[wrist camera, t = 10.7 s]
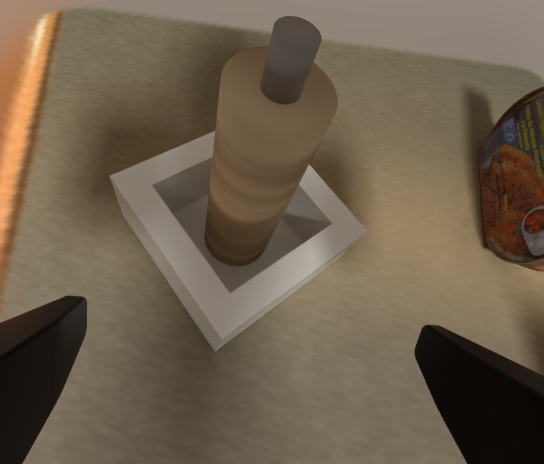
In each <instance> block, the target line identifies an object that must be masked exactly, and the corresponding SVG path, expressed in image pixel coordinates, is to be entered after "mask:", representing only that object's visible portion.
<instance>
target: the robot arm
mask: <svg viewBox="0 0 544 464" xmlns="http://www.w3.org/2000/svg"><path fill="white" fill-rule="evenodd" d="M86 329H87V300H86V298H85V297H80V296H65V297H63V298H60V299H58V300H55V301H53V302H50V303H48V304H45V305H43V306H41V307H38V308H36V309H33V310H31V311H28V312H26V313H23V314H21V315H19V316H16V317H14V318H11V319H9V320H6V321H4V322H1V323H0V464H22V463H23V462H24V460H25V458H26V456H27V454H28V453H29V451H30V449H31V447H32V445H33V444H34V442H35V440H36V438H37V437H38V435H39V433H40V431H41V429H42V428H43V426H44V424H45V422H46V420H47V419H48V417H49V415H50V413H51V411H52V410H53V408H54V406H55V404H56V402H57V400H58V398H59V397H60V395H61V392H62V390H63V388H64V386H65V383H66V381H67V378H68V376H69V374H70V371H71V369H72V366H73V364H74V362H75V359H76V357H77V354H78V352H79V350H80V347H81V345H82V342H83V340H84V337H85V334H86ZM415 358H416V360H417V363H418V365H419V367H420V370H421V372H422V374H423V377H424V379H425V381H426V384H427V386H428V388H429V391H430V393H431V395H432V397H433V400H434V402H435V404H436V406H437V408H438V410H439V412H440V414H441V416H442V418H443V420H444V422H445V424H446V425H447V427H448V429H449V431H450V433H451V435H452V436H453V438H454V440H455V442H456V444H457V446H458V448H459V449H460V451H461V453H462V455H463V457H464V459H465V460H466V462H467V464H544V376H543V375H541V374H539V373H536V372H534V371H532V370H530V369H528V368H526V367H524V366H522V365H520V364H518V363H516V362H514V361H512V360H509V359H507V358H505V357H503V356H501V355H499V354H497V353H495V352H493V351H491V350H489V349H487V348H485V347H483V346H480V345H478V344H476V343H474V342H472V341H470V340H468V339H466V338H464V337H462V336H460V335H458V334H456V333H453V332H451V331H449V330H447V329H445V328H443V327H441V326H438V325H425V326H424V327H423V328H422V330H421V332H420V335H419V338H418V341H417V344H416V347H415Z"/></svg>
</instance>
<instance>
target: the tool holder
mask: <svg viewBox="0 0 544 464" xmlns="http://www.w3.org/2000/svg"><path fill="white" fill-rule="evenodd" d="M214 138H215V131H214V132H211V133H209V134H207V135H204V136H202V137H199V138H197V139H195V140H192V141H190V142H188V143H185V144H183V145H181V146H178V147H176V148H174V149H171V150H169V151H167V152H164V153H162V154H160V155H157V156H155V157H153V158H150V159H148V160H146V161H143V162H141V163H139V164H136V165H134V166H132V167H129V168H127V169H125V170H122V171H120V172H118V173H115V174H113V175H110V179H111V182H112V185H113V188H114V191H115V194H116V197H117V199H118V202H119V205H120V208H121V211H122V214H123V217H124V219H125V220H126V222H127V223H128V225H129V226H130V228H131V229H132V231H133V232H134V233H135V235H136V236H137V238H138V239H139V241H140V242H141V244H142V245H143V247H144V248H145V250H146V251H147V253H148V254H149V256H150V257H151V259H152V260H153V262H154V263H155V265H156V266H157V268H158V269H159V270H160V272H161V273H162V275H163V276H164V278H165V279H166V281H167V282H168V284H169V285H170V287H171V288H172V290H173V291H174V293H175V294H176V296H177V297H178V299H179V300H180V302H181V303H182V305H183V306H184V307H185V309H186V310H187V312H188V313H189V315H190V316H191V318H192V319H193V321H194V322H195V324H196V325H197V327H198V328H199V330H200V331H201V333H202V334H203V336H204V337H205V339H206V340H207V341H208V343H209V344H210V346H211V347H212V349H213V350H214V352H216V351H217V350H218V349H220V348H221V347H222V346H224V345H225V344H226V343H228V342H229V341H230V340H232V339H233V338H234V337H236V336H237V335H238V334H240V333H241V332H242V331H244V330H245V329H246V328H247V327H249V326H250V325H251V324H253V323H254V322H255V321H257V320H258V319H259V318H261V317H262V316H263V315H265V314H266V313H267V312H269V311H270V310H271V309H273V308H274V307H275V306H277V305H278V304H279V303H281V302H282V301H283V300H285V299H286V298H287V297H289V296H290V295H291V294H293V293H294V292H295V291H297V290H298V289H299V288H301V287H302V286H303V285H305V284H306V283H307V282H309V281H310V280H311V279H312V278H314V277H315V276H316V275H318V274H319V273H320V272H322V271H323V270H324V269H326V268H327V267H328V266H330V265H331V264H332V263H334V262H335V261H336V260H338V259H339V258H340V257H341V256H342V255H343V254H344V253H345V252H346V251H347V250H348V249H349V248H350V247H351V246H352V245H353V244H355V243H356V242H357V241H358V240H359V239H360V238H361V237H362V236H363V235H364V234H365V233H366V232H367V230H366V229H365V228H364V226H363V225H362V224H361V223H360V222H359V221H358V220H357V218H356V217H355V216H354V215H353V214H352V213H351V212H350V210H349V209H348V208H347V207H346V206H345V205H344V204H343V202H342V201H341V200H340V199H339V198H338V197H337V196H336V194H335V193H334V192H333V191H332V190H331V189H330V188H329V187H328V185H327V184H326V183H325V182H324V181H323V180H322V179H321V177H320V176H319V175H318V174H317V173H316V172H315V171H314V169H313V168H312V167H311V166H310V165H308V167H307V169H306V171H305V173H304V175H303V177H302V179H301V181H300V183H299V185H298V187H297V188H296V190H295V192H294V194H293V196H292V198H291V200H290V202H289V204H288V206H287V208H286V210H285V212H284V213H283V215H282V217H281V219H280V221H279V223H278V225H277V227H276V229H275V231H274V233H273V235H272V237H271V238H270V240H269V242H268V244H267V246H266V248H265V250H264V252H263V253H262V255H261V256H260V257H259V258H258V259H257V260H256V261H254V262H252V263H250V264H248V265H244V266H231V265H227V264H224V263H222V262H220V261H218V260H217V259H216V258H214V257H213V256H212V255H211V253H210V252H209V250H208V249H207V247H206V244H205V238H204V234H205V224H206V215H207V205H208V196H209V186H210V176H211V167H212V157H213V148H214Z"/></svg>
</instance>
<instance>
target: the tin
mask: <svg viewBox="0 0 544 464" xmlns="http://www.w3.org/2000/svg"><path fill="white" fill-rule="evenodd" d="M479 174H480V187H481V198H482V211H483V224H484V235H485V239H486V242H487V245H488V247H489V248H490V250H491V251H492V252H493V253H494V254H495V255H496V256H497V257H498V258H500V259H502V260H504V261H506V262H510V263H514V264H518V265H520V266H523V267H526V268H529V269H532V270H536V271H543V272H544V87H541V88H539V89H536V90H534V91H532V92H530V93H528V94H527V95H525V96H524V97H522V98H521V99H520V100H518V101H517V102H516V103H514V104H513V105H512V106H511V107H510V108H509V109H508V110H507V111H506V112H505V113H504V114H503V115H502V117H501V118H500V119H499V120H498V121H497V123H496V124H495V126H494V127H493V128H492V130H491V131H490V133H489V135H488V136H487V138H486V140H485V142H484V144H483V147H482V150H481V153H480V158H479Z"/></svg>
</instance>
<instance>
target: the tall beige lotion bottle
mask: <svg viewBox="0 0 544 464" xmlns="http://www.w3.org/2000/svg"><path fill="white" fill-rule="evenodd" d="M320 43H321V34H320V32H319V30H318V29H317V28H316V27H315V26H314V25H313V24H311V23H310V22H308V21H306V20H305V19H302V18H299V17H294V16H285V17H281V18H279V19H278V20H277V21H276V22H275V24H274V27H273V31H272V36H271V40H270V44H269V47H255V48H249V49H246V50H243V51H241V52H239V53H237V54H235V55H234V56H233V57H231V58H230V59H229V60H228V61H227V63H226V64H225V66H224V68H223V70H222V73H221V81H220V90H219V100H218V109H217V119H216V129H215V138H214V148H213V157H212V167H211V176H210V186H209V196H208V205H207V215H206V224H205V234H204V238H205V244H206V247H207V249H208V250H209V252H210V253H211V255H212V256H213V257H214V258H216V259H217V260H218V261H220V262H222V263H224V264H227V265H231V266H244V265H248V264H250V263H252V262H254V261H256V260H257V259H258V258H259V257H260V256H261V255H262V253H263V252H264V250H265V248H266V246H267V244H268V242H269V240H270V238H271V237H272V235H273V233H274V231H275V229H276V227H277V225H278V223H279V221H280V219H281V217H282V215H283V213H284V212H285V210H286V208H287V206H288V204H289V202H290V200H291V198H292V196H293V194H294V192H295V190H296V188H297V187H298V185H299V183H300V181H301V179H302V177H303V175H304V173H305V171H306V169H307V167H308V165H309V163H310V162H311V160H312V158H313V156H314V154H315V152H316V150H317V148H318V146H319V144H320V142H321V140H322V138H323V137H324V135H325V133H326V131H327V129H328V127H329V125H330V123H331V121H332V119H333V117H334V115H335V113H336V110H337V94H336V91H335V88H334V86H333V84H332V82H331V81H330V79H329V78H328V76H327V75H326V74H325V73H324V72H323V71H322V70H321V69H320V68H319V67H318V66H317V65H316V64H314V63H313V61H314V59H315V56H316V53H317V51H318V48H319V45H320Z"/></svg>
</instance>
